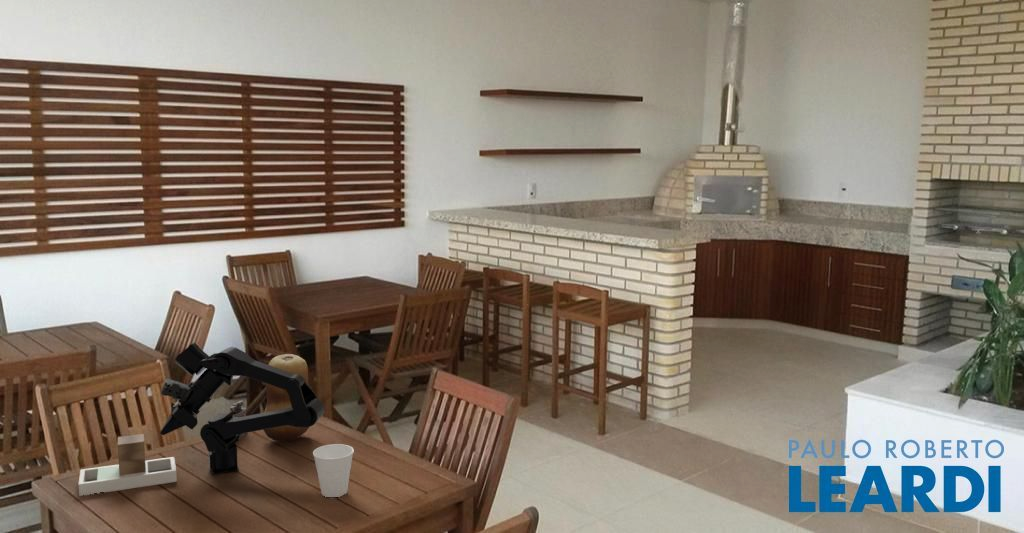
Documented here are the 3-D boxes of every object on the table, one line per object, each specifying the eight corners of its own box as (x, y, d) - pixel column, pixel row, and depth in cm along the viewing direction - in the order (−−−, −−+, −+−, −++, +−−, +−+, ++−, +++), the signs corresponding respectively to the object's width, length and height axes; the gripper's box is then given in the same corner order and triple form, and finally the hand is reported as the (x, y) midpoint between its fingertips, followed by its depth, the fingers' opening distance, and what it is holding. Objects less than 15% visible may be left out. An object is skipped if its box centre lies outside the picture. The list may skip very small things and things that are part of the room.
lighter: (235, 441, 238) (234, 408, 236) (225, 440, 239) (223, 407, 237) (249, 431, 246) (248, 399, 244) (239, 431, 246) (238, 398, 245)
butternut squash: (286, 452, 230) (283, 365, 226) (253, 442, 237) (250, 358, 233) (322, 437, 242) (320, 354, 238) (289, 428, 249) (287, 348, 245)
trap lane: (174, 467, 219) (174, 456, 218) (176, 481, 210) (176, 470, 209) (81, 480, 209) (80, 469, 209) (79, 496, 200) (78, 484, 200)
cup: (319, 505, 197) (318, 461, 195) (309, 489, 206) (308, 447, 204) (359, 497, 201) (359, 454, 200) (348, 482, 210) (347, 441, 208)
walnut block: (145, 463, 213) (143, 433, 212) (145, 471, 208) (144, 441, 207) (119, 466, 211) (117, 437, 210) (119, 475, 206) (117, 444, 204)
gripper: (179, 359, 220) (136, 404, 217) (180, 377, 203) (134, 426, 200) (212, 385, 224) (170, 429, 221) (215, 404, 207) (171, 453, 204)
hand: (161, 433), depth 212 cm, fingers closed
